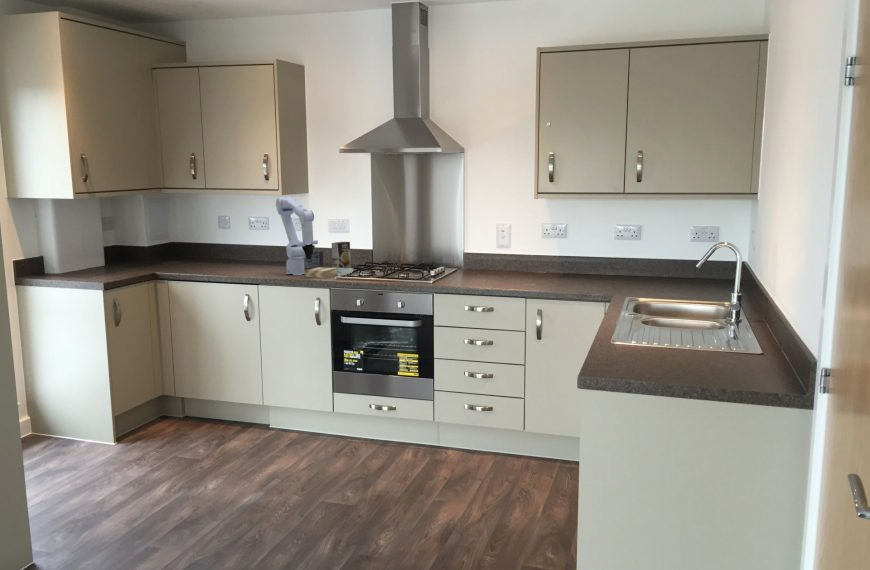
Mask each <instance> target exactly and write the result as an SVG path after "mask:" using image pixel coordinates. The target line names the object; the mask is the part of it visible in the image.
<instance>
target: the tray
mask: <svg viewBox="0 0 870 570" xmlns="http://www.w3.org/2000/svg"><path fill="white" fill-rule="evenodd" d="M337 269H343V270H344V271H341V274H338V276H339V277H340V276H341V277H343V276H347V274H348V275H351V274H350V273H352V272H353V271H354V272H355V268H352V267H351V268H337ZM352 274H353V273H352ZM338 276H337V277H338Z"/></svg>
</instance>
